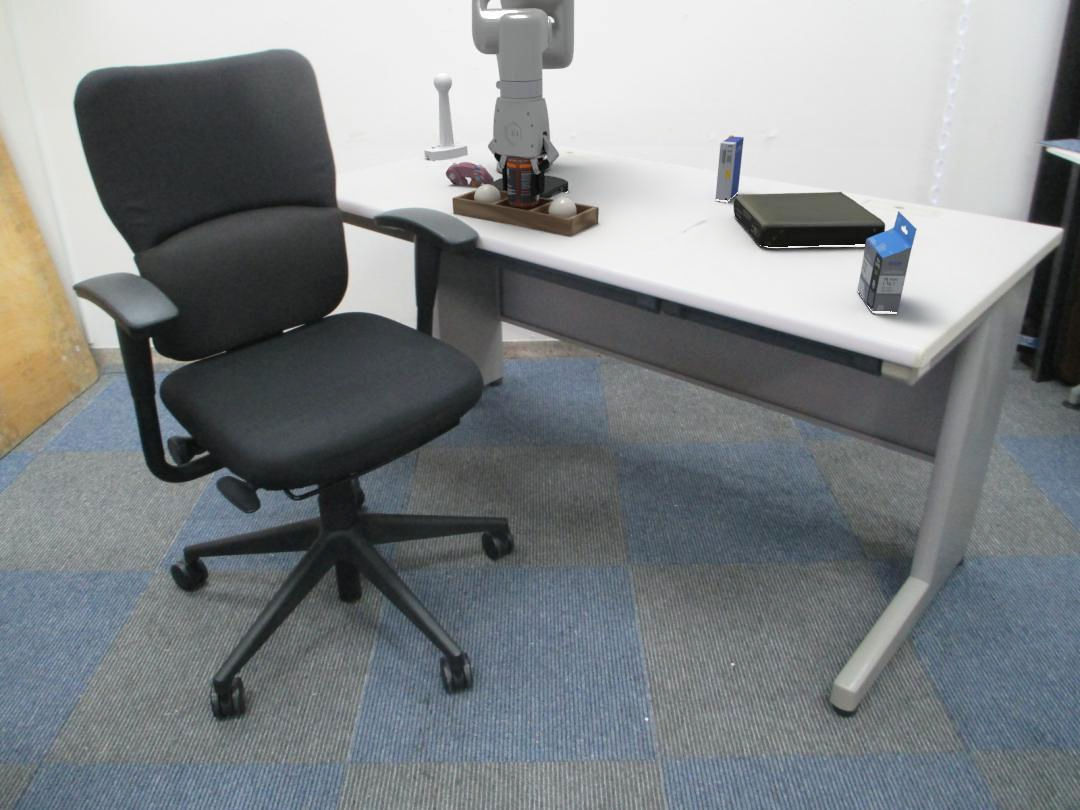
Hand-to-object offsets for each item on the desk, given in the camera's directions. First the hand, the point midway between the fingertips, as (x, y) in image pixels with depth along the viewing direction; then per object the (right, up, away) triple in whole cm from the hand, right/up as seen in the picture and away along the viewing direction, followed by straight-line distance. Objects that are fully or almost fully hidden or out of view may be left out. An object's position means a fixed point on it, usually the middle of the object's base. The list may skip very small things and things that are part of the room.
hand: (523, 190), depth 154 cm
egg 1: (-7, -2, +7) cm, 10 cm away
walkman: (+42, +3, +16) cm, 45 cm away
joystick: (-21, +23, +55) cm, 64 cm away
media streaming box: (+1, +5, +22) cm, 22 cm away
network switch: (+51, -9, -4) cm, 52 cm away
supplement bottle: (0, -2, +1) cm, 3 cm away
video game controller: (-12, +7, +27) cm, 30 cm away
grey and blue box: (+52, -26, -35) cm, 68 cm away
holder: (0, -5, +3) cm, 6 cm away
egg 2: (+7, -7, -2) cm, 10 cm away
